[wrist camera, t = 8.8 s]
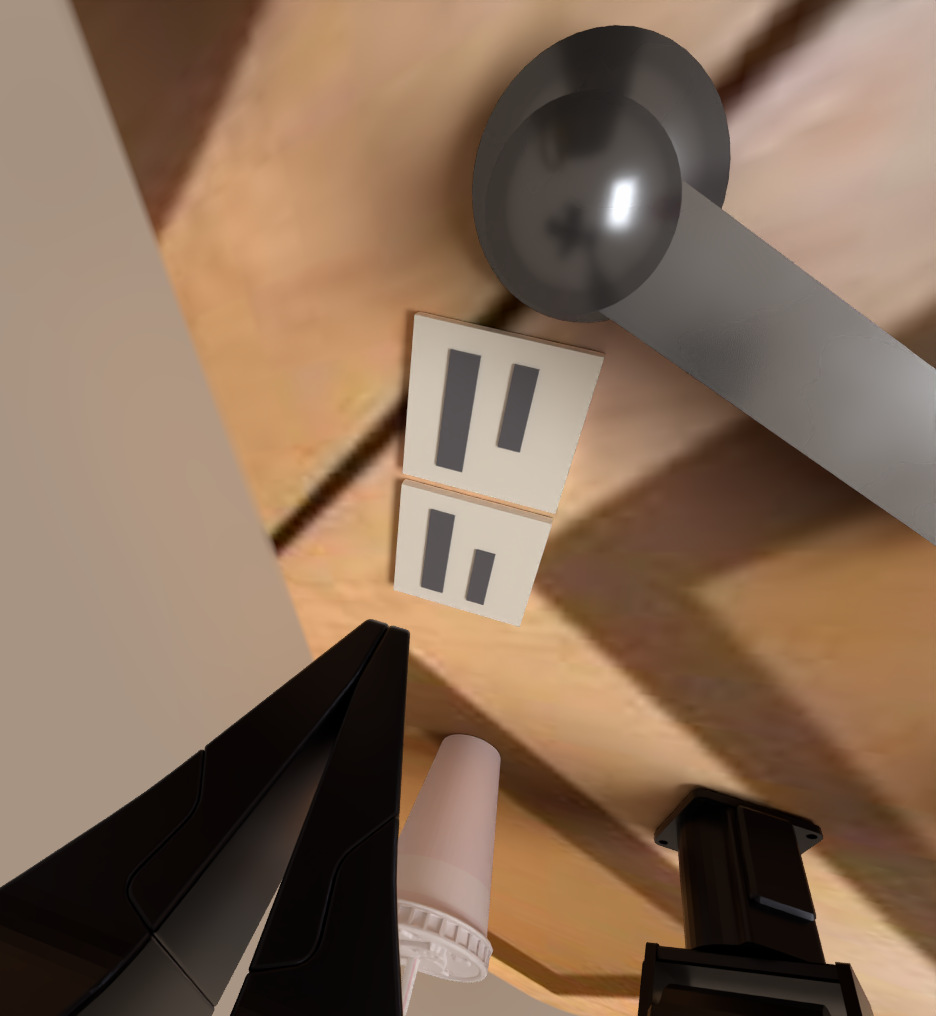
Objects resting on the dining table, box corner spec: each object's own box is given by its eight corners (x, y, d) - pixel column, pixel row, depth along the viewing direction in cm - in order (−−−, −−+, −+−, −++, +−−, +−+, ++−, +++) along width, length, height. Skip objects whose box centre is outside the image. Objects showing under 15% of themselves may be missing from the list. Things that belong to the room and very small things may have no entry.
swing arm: (500, 222, 13) (453, 250, 9) (577, 76, 11) (554, 39, 7) (1010, 580, 15) (1133, 716, 11) (1151, 510, 13) (1355, 648, 9)
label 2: (520, 620, 23) (519, 628, 22) (396, 583, 24) (392, 591, 23) (553, 518, 19) (551, 525, 19) (405, 478, 20) (400, 485, 20)
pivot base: (666, 331, 15) (669, 344, 14) (468, 288, 15) (457, 297, 14) (770, 57, 11) (784, 49, 10) (505, 16, 12) (494, 5, 11)
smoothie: (405, 747, 32) (289, 1061, 21) (447, 705, 28) (333, 1063, 17) (490, 793, 33) (423, 1121, 22) (544, 757, 29) (494, 1136, 18)
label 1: (556, 508, 19) (554, 515, 19) (406, 468, 20) (401, 474, 19) (604, 353, 15) (604, 358, 15) (418, 311, 16) (413, 315, 16)
